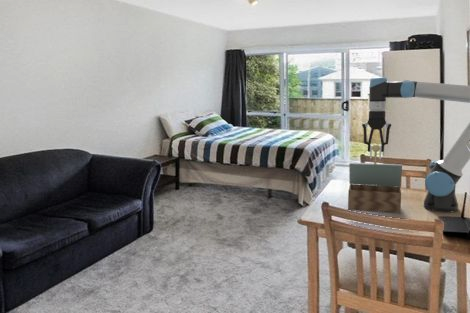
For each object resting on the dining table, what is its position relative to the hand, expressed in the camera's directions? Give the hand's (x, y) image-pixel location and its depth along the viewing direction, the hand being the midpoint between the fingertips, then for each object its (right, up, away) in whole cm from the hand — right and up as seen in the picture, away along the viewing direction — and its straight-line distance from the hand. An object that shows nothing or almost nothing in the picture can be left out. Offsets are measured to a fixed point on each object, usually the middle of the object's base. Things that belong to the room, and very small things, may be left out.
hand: (375, 158), depth 197 cm
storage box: (+1, -25, +4) cm, 25 cm away
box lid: (0, -5, +1) cm, 5 cm away
